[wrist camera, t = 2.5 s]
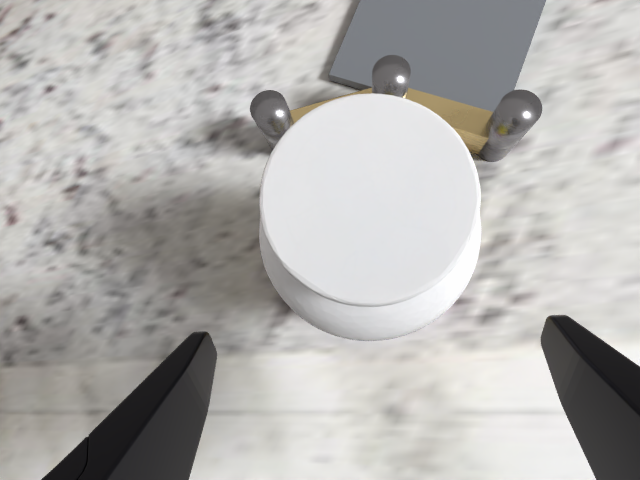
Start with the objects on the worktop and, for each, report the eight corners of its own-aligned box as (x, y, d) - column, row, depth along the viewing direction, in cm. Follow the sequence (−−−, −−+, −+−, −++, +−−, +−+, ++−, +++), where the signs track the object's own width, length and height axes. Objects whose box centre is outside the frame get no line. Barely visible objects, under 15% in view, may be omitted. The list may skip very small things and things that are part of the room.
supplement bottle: (350, 351, 20) (315, 429, 7) (284, 248, 21) (159, 163, 9) (456, 280, 20) (609, 232, 7) (383, 181, 21) (402, -3, 9)
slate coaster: (552, -24, 22) (557, -33, 21) (497, 129, 21) (501, 124, 20) (388, -59, 24) (389, -68, 23) (329, 80, 23) (328, 74, 22)
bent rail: (513, 136, 21) (547, 95, 17) (482, 225, 20) (509, 205, 16) (300, 73, 23) (286, 25, 19) (266, 151, 22) (244, 118, 18)
